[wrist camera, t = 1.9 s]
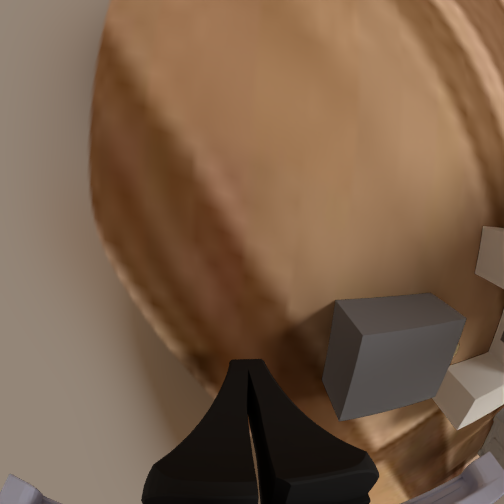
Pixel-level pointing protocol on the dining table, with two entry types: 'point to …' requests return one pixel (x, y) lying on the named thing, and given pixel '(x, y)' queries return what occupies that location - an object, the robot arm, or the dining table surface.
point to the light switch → (495, 439)
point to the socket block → (483, 366)
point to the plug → (388, 352)
